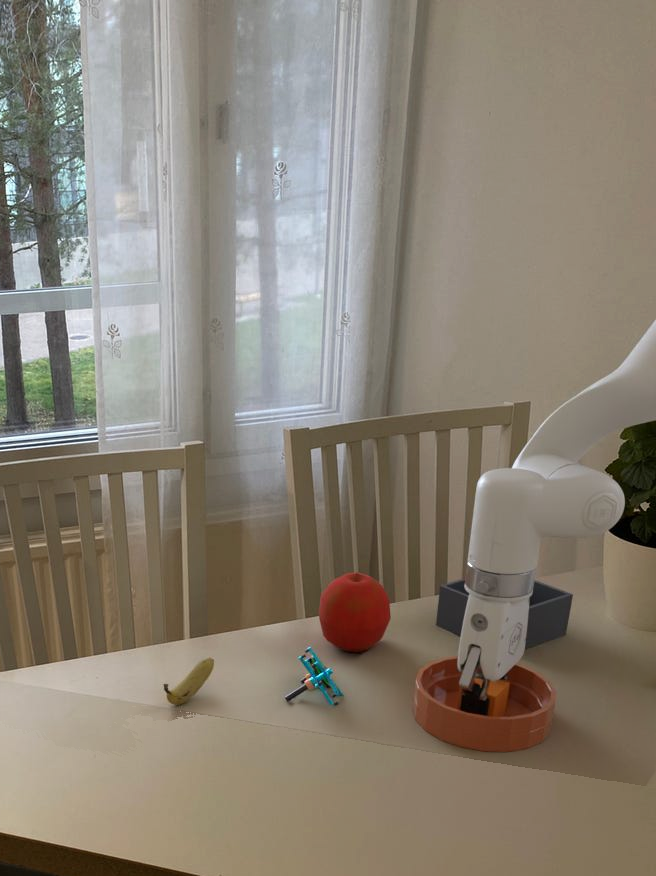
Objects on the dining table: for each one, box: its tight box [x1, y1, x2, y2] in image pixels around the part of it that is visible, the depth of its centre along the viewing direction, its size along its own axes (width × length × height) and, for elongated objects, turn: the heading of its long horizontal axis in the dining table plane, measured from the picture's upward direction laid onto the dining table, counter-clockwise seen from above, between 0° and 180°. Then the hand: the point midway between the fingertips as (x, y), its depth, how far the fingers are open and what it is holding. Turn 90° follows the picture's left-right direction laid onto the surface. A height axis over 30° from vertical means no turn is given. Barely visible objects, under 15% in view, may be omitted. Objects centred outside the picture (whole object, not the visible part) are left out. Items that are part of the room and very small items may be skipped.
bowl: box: [412, 655, 557, 753], centre depth 112 cm, size 16×16×5 cm
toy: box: [457, 678, 510, 717], centre depth 112 cm, size 4×4×4 cm
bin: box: [435, 577, 574, 650], centre depth 135 cm, size 13×13×6 cm
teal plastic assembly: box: [284, 646, 345, 706], centre depth 120 cm, size 12×7×8 cm
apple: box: [318, 572, 391, 653], centre depth 131 cm, size 10×10×12 cm
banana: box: [163, 657, 215, 706], centre depth 119 cm, size 10×2×4 cm, turn 141°
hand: (480, 713), depth 113 cm, fingers closed on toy, 4 cm apart
